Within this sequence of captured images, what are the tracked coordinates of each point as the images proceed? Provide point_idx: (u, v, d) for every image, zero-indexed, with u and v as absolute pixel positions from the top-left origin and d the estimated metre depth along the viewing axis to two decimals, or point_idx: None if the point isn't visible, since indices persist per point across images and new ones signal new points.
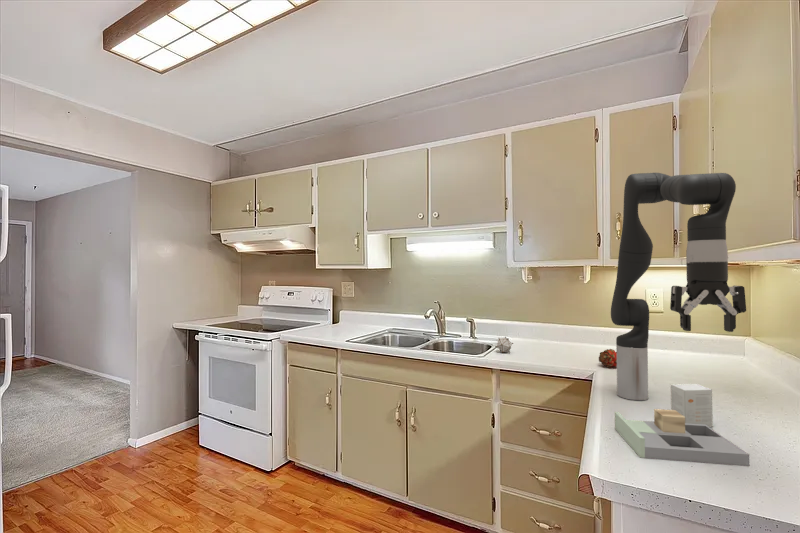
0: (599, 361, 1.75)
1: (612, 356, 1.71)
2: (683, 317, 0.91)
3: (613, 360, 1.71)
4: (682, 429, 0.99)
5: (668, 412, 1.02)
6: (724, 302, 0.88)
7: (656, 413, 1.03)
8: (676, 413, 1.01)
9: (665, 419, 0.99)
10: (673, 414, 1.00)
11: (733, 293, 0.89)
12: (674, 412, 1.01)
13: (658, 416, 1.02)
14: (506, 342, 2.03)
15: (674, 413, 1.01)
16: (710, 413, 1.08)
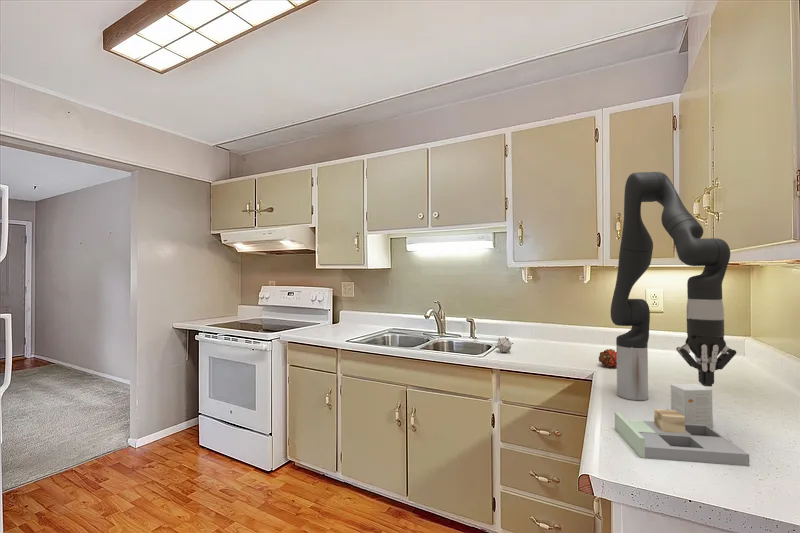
0: (599, 361, 1.75)
1: (612, 356, 1.71)
2: (701, 373, 0.99)
3: (613, 360, 1.71)
4: (682, 429, 0.99)
5: (668, 412, 1.02)
6: (713, 357, 0.98)
7: (656, 413, 1.03)
8: (676, 413, 1.01)
9: (665, 419, 0.99)
10: (673, 414, 1.00)
11: (724, 351, 0.99)
12: (674, 412, 1.01)
13: (658, 416, 1.02)
14: (506, 342, 2.03)
15: (674, 413, 1.01)
16: (710, 413, 1.08)
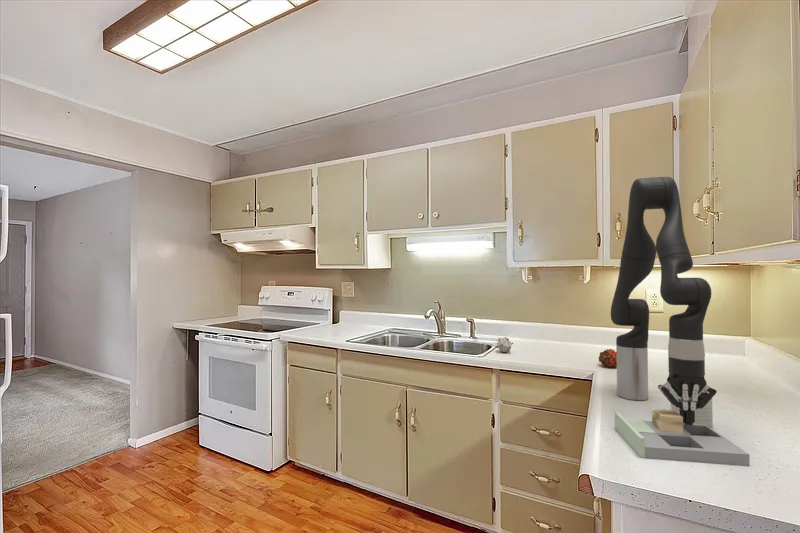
0: (599, 361, 1.75)
1: (612, 356, 1.71)
2: (682, 412, 1.00)
3: (613, 360, 1.71)
4: (680, 429, 0.99)
5: (666, 412, 1.02)
6: (693, 396, 0.99)
7: (654, 413, 1.03)
8: (674, 413, 1.01)
9: (663, 419, 0.99)
10: (671, 414, 1.00)
11: (704, 390, 0.99)
12: (672, 412, 1.02)
13: (656, 416, 1.02)
14: (506, 342, 2.03)
15: (672, 413, 1.01)
16: (710, 413, 1.08)
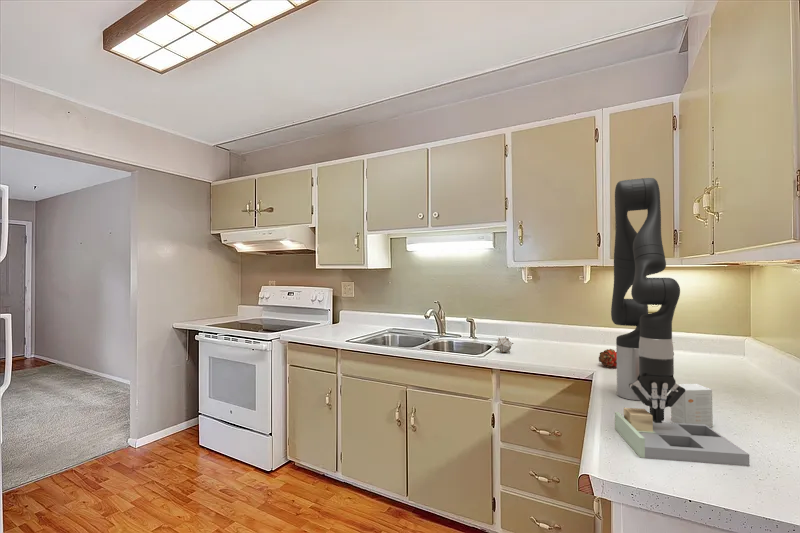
0: (599, 361, 1.75)
1: (612, 356, 1.71)
2: (652, 410, 1.01)
3: (613, 360, 1.71)
4: (650, 427, 1.00)
5: (637, 411, 1.03)
6: (662, 394, 1.00)
7: (625, 412, 1.04)
8: (644, 412, 1.02)
9: (633, 417, 1.00)
10: (641, 413, 1.01)
11: (674, 389, 1.01)
12: (643, 411, 1.03)
13: (627, 415, 1.03)
14: (506, 342, 2.03)
15: (643, 411, 1.02)
16: (710, 413, 1.08)
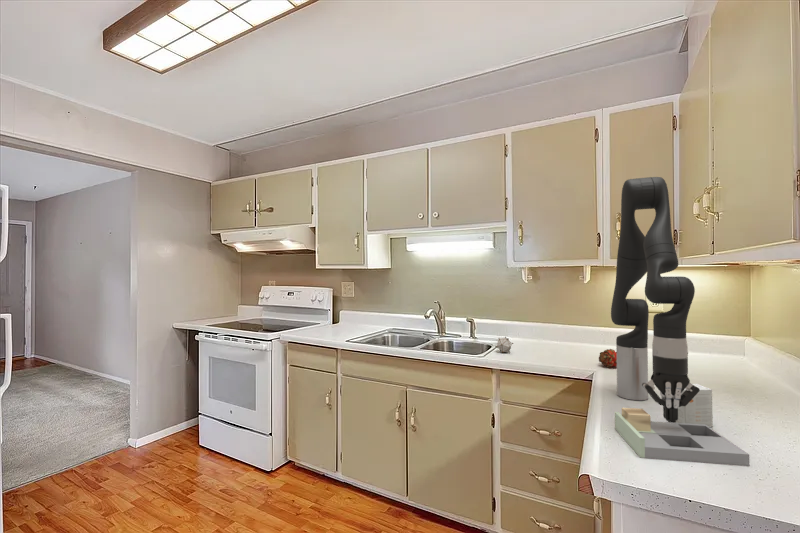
0: (599, 361, 1.75)
1: (612, 356, 1.71)
2: (665, 409, 1.01)
3: (613, 360, 1.71)
4: (647, 427, 1.00)
5: (635, 411, 1.03)
6: (676, 394, 1.00)
7: (623, 412, 1.04)
8: (642, 412, 1.02)
9: (631, 417, 1.00)
10: (639, 413, 1.01)
11: (688, 388, 1.00)
12: (641, 411, 1.03)
13: (625, 415, 1.03)
14: (506, 342, 2.03)
15: (641, 411, 1.02)
16: (710, 413, 1.08)
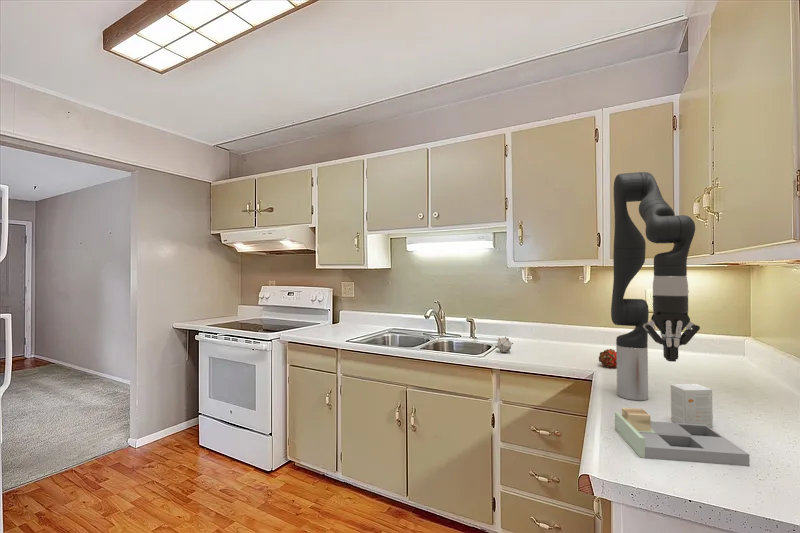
0: (599, 361, 1.75)
1: (612, 356, 1.71)
2: (666, 349, 1.01)
3: (613, 360, 1.71)
4: (647, 427, 1.00)
5: (635, 411, 1.03)
6: (677, 332, 1.00)
7: (623, 412, 1.04)
8: (642, 412, 1.02)
9: (631, 417, 1.00)
10: (639, 413, 1.01)
11: (688, 327, 1.00)
12: (641, 411, 1.03)
13: (625, 415, 1.03)
14: (506, 342, 2.03)
15: (641, 411, 1.02)
16: (710, 413, 1.08)
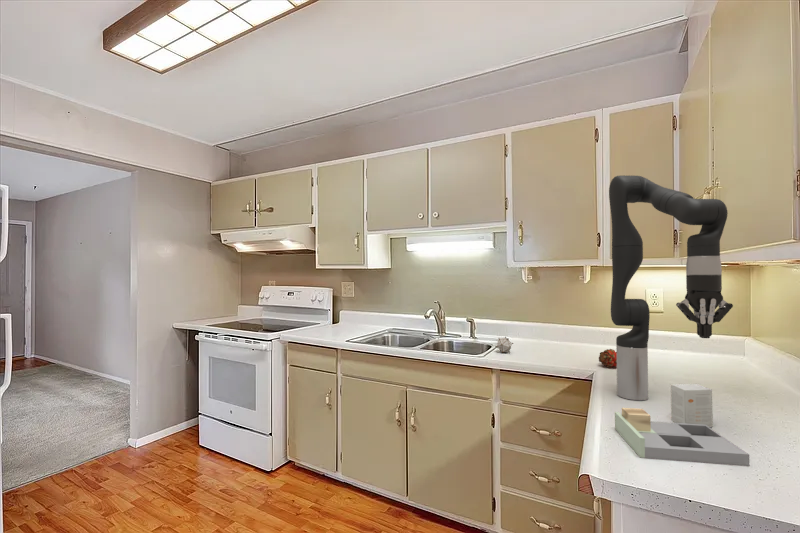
0: (599, 361, 1.75)
1: (612, 356, 1.71)
2: (699, 326, 1.05)
3: (613, 360, 1.71)
4: (647, 427, 1.00)
5: (635, 411, 1.03)
6: (710, 310, 1.04)
7: (623, 412, 1.04)
8: (642, 412, 1.02)
9: (631, 417, 1.00)
10: (639, 413, 1.01)
11: (721, 305, 1.05)
12: (641, 411, 1.03)
13: (625, 415, 1.03)
14: (506, 342, 2.03)
15: (641, 411, 1.02)
16: (710, 413, 1.08)
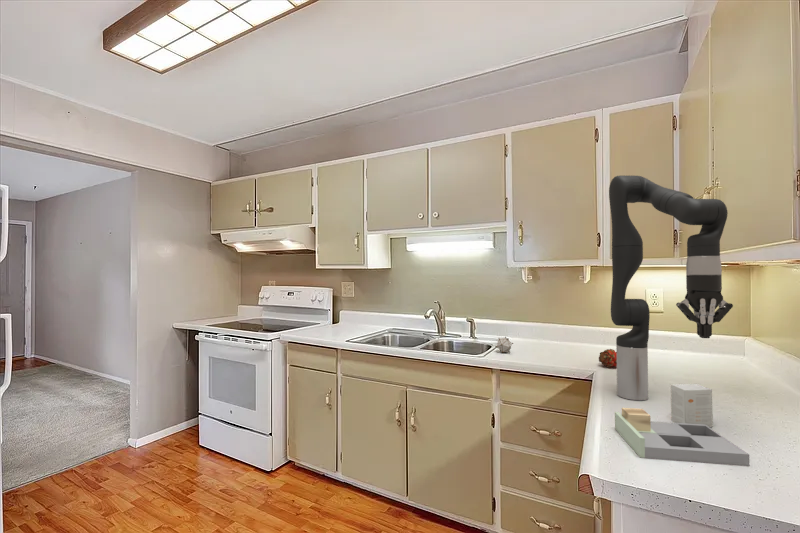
0: (599, 361, 1.75)
1: (612, 356, 1.71)
2: (699, 326, 1.05)
3: (613, 360, 1.71)
4: (647, 427, 1.00)
5: (635, 411, 1.03)
6: (710, 310, 1.04)
7: (623, 412, 1.04)
8: (642, 412, 1.02)
9: (631, 417, 1.00)
10: (639, 413, 1.01)
11: (721, 305, 1.05)
12: (641, 411, 1.03)
13: (625, 415, 1.03)
14: (506, 342, 2.03)
15: (641, 411, 1.02)
16: (710, 413, 1.08)
